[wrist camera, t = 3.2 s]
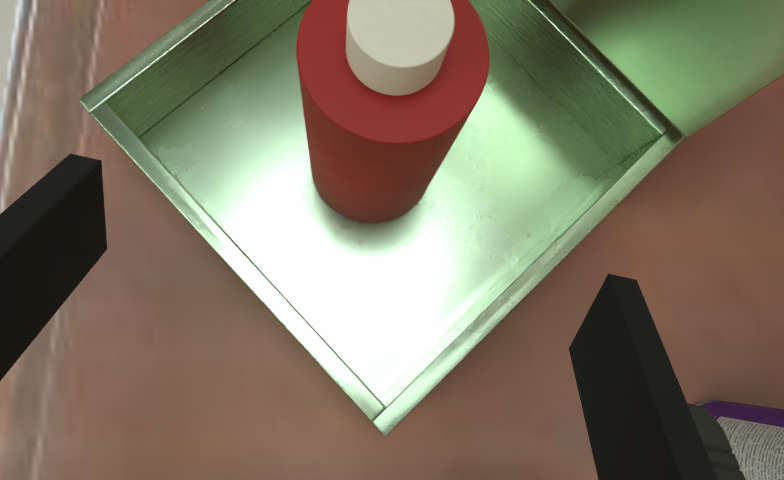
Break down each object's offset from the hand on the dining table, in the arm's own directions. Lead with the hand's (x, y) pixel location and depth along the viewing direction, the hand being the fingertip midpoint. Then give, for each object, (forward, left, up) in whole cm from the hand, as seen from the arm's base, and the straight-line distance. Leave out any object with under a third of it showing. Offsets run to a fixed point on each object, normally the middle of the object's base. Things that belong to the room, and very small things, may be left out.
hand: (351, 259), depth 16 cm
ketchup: (-4, +6, -14) cm, 15 cm away
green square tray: (-4, +7, -14) cm, 16 cm away
